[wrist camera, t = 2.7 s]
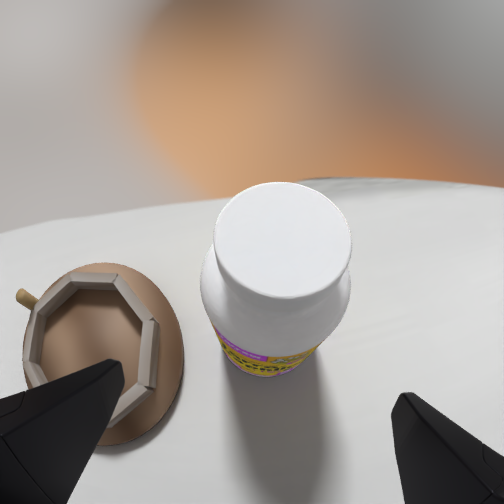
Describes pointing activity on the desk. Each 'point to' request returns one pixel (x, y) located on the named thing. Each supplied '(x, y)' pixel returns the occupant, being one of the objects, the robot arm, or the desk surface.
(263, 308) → the supplement bottle
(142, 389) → the collar plate
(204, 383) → the desk surface
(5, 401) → the robot arm
